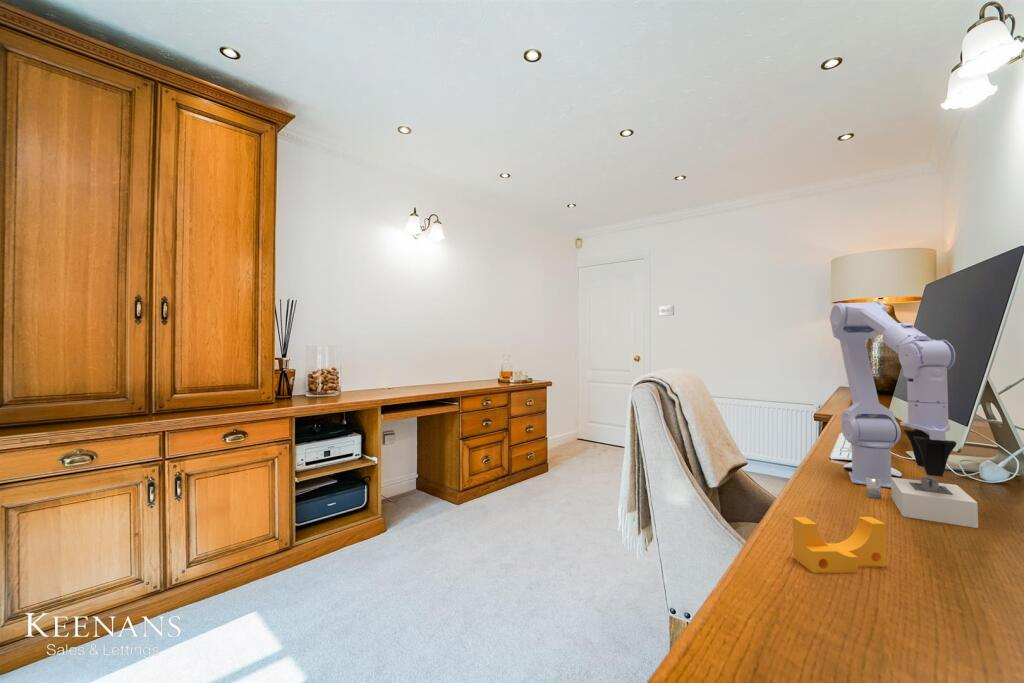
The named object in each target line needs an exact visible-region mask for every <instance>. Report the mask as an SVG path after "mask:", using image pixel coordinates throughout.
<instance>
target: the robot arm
mask: <svg viewBox="0 0 1024 683" xmlns="http://www.w3.org/2000/svg"><path fill="white" fill-rule="evenodd" d="M829 322H830V325H831V330H832V335H833V337H834V338H835V339H837V340H838V341H839V344H840V348H841V353H842V358H843V363H844V368H845V373H846V377H847V378H846V379H847V382H848V387H849V393H850V398H851V402H852V404H851V405H850V406H849V407H847V408H846V409H844V410H843V411H842V413H841V432H842V436H843V438H844V439H845V440H846V441H847V443H849V444H851V468H852V469H851V471H849V472H848V476H849V478H850V480H851V483H853V484H857V485H858V484H859V485H863V486H865V485H866V486H867V483H866V477H875V478H879V479H881V488H888V489H891V477H892V454H891V448H895V444H897V443H899V441H900V440H901V434H902V432H901V431H902V430H901V427H900V426H902V427H908V428H911V429H904V430H903V432H904V434H905V435H906V436H907V439H908V440H909V443H910V445H911V448H912V451H913V455H914V459H915V462H916V465H917V466H918V467H923V468H924V471H925V473H926V475H927V476H931V477H932V476H933V477H941V478H942V477H943V475H944V474H945V470H946V467H947V466H946V465H947V462H948V459H949V456H950V454H951V453H952V452H953V450H954V449H955V447H956V446H957V443H958V442H956V441H955V440H948V439H946V437H947V436H946V433H947V432H948V431H951V425H950V424H949V397H948V396H949V394H948V370H949V369H951V368H952V367H953V366H954V365H955V362H956V351H955V348H954V346H953V345H952V344H951V343H950V342H949V341H948V340H945V339H937V340H936V339H932V338H930V337H929V336H928V335H926V334H925V333H923V332H921V331H920V330H918V329H917V328H915V327H914V324H912V323H911V322H897V321H896V320H895V319H894V318H893V317H892V316H891V315H890V314H888V308H887V305H885V304H884V303H882V302H881V301H874V302H872V301H871V302H870V301H869V302H868V301H867V302H845V303H844V302H837V303H835V304H834V305H833V306H832V308H831V312H830V315H829ZM877 333H879V334H881V335H882V339H881V340H882V342H883V343H884V344H885V345H886V346H888V347H889V348H890V349H891V350H892V351H893V352H895V353H896V354H897V355H898V361H899V363H900V364H899V365H901V367H902V375H903V377H904V378H906V384H907V385H906V390H907V392H906V393H907V394H906V395H907V396H906V397H907V421H900V425H899V423H898V422H897V420H896V418H895V415H894V412H893V410H891V409H889V408H888V407H886V406H884V405H883V404H881V403H880V401H879V397H878V396H879V395H878V392H877V389H876V383H875V379H874V375H873V374H874V373H873V371H872V365H871V361H870V357H869V352H868V348H867V345H866V344H867V340H869V339H871V338H874V337H875V336H876V335H877Z"/></svg>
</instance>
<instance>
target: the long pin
mask: <svg viewBox="0 0 1024 683" xmlns="http://www.w3.org/2000/svg"><path fill="white" fill-rule="evenodd" d="M920 481H921V489H924V490H932V491H939V490H938V483H939V479H938V478H935V477H932V476H931V477H930V476H921V477H920Z"/></svg>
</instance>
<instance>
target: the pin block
mask: <svg viewBox="0 0 1024 683" xmlns="http://www.w3.org/2000/svg"><path fill="white" fill-rule="evenodd" d="M890 489H891V490H890V491H891V499H892V501H893V503H894V504H895V506H896V507H897V509H898V511H899V512H900V514H901V516H902V517H904V518H911V519H916V520H917V519H918V520H923V521H929V522H935V523H942V524H948V525H953V526H955V525H956V526H962V527H968V528H974V529H979V509H978V502H977V501H976V500H975V499H974V498H973V497H971V496H970V495H969V494H968V493H967V492H965V490H963V489H962V488H961V487H960V486H958V485H957V484H951V483H943V482H938V490H939V491H932V490H924V489H921V480H918V479H917V480H916V479H909V478H901V477H893V476H891V488H890Z"/></svg>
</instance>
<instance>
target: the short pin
mask: <svg viewBox="0 0 1024 683" xmlns="http://www.w3.org/2000/svg"><path fill="white" fill-rule="evenodd" d="M866 483H867V485H866V497H867V498H870V499H874V500H881V499H882V487H881V479H879V478H875V477H866Z"/></svg>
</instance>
